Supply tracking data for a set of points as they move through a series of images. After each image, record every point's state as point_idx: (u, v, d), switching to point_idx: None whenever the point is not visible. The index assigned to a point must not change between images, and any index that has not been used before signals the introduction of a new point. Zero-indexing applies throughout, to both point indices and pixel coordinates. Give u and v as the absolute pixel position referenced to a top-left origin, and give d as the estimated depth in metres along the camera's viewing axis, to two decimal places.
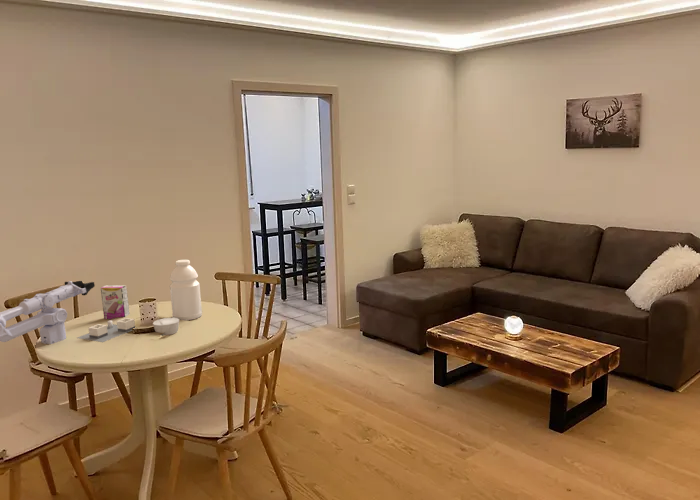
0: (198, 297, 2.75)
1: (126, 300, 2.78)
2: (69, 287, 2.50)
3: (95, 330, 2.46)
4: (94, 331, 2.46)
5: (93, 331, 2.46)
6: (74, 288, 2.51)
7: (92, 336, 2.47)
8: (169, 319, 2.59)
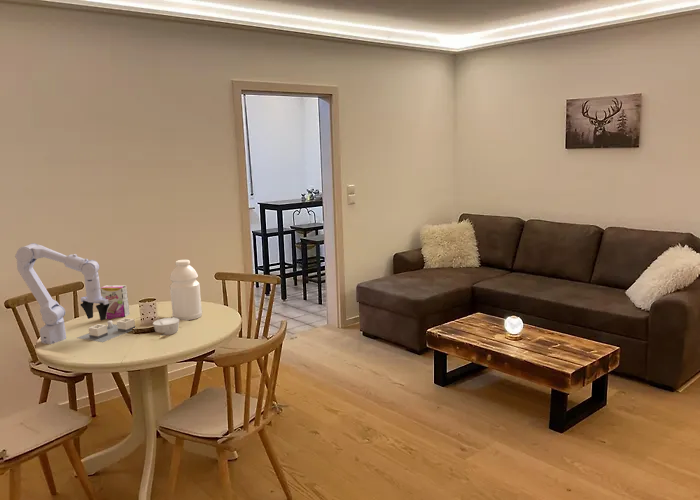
0: (198, 297, 2.75)
1: (126, 300, 2.78)
2: (100, 293, 2.47)
3: (95, 330, 2.46)
4: (94, 331, 2.46)
5: (93, 331, 2.46)
6: (100, 298, 2.46)
7: (92, 336, 2.47)
8: (169, 319, 2.59)
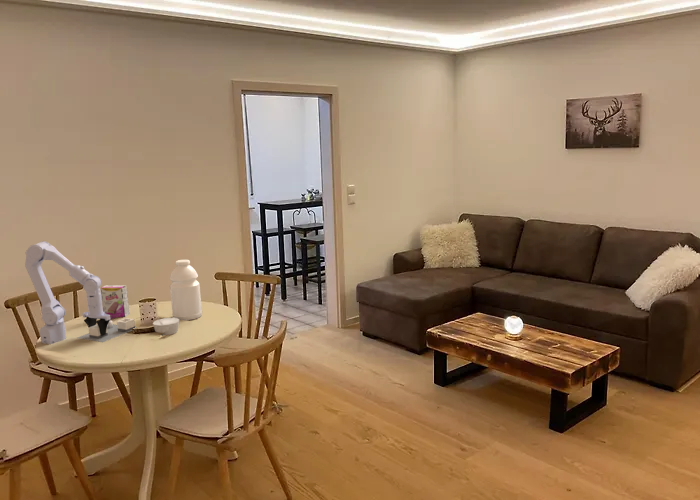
0: (198, 297, 2.75)
1: (126, 300, 2.78)
2: (102, 309, 2.48)
3: (95, 330, 2.46)
4: (94, 331, 2.46)
5: (93, 331, 2.46)
6: (102, 313, 2.47)
7: (92, 336, 2.47)
8: (169, 319, 2.59)
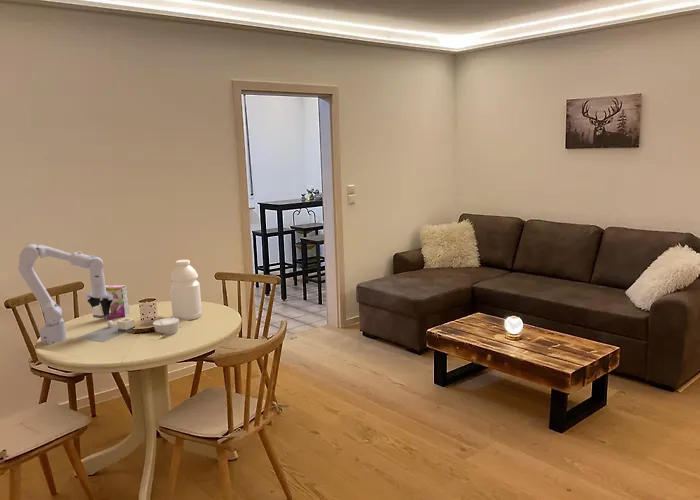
0: (198, 297, 2.75)
1: (126, 300, 2.78)
2: (105, 289, 2.52)
3: (98, 310, 2.49)
4: (98, 311, 2.50)
5: (96, 311, 2.50)
6: (105, 293, 2.51)
7: (95, 316, 2.51)
8: (169, 318, 2.59)
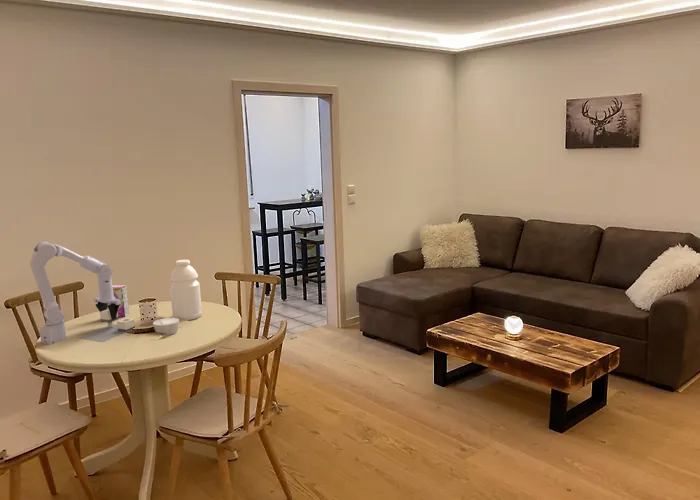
0: (198, 297, 2.75)
1: (126, 300, 2.78)
2: None
3: (106, 314, 2.57)
4: (105, 315, 2.57)
5: (104, 315, 2.58)
6: (113, 298, 2.58)
7: (103, 320, 2.58)
8: (169, 318, 2.59)
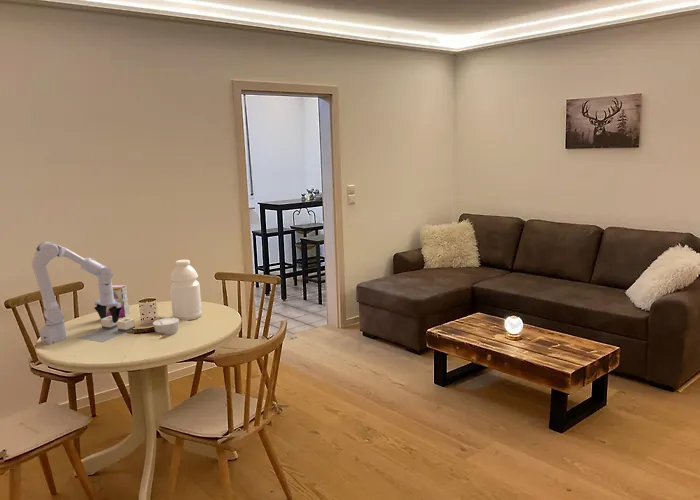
0: (198, 297, 2.75)
1: (126, 300, 2.78)
2: (113, 297, 2.59)
3: (107, 321, 2.57)
4: (106, 322, 2.58)
5: (105, 322, 2.58)
6: (113, 301, 2.59)
7: (104, 327, 2.59)
8: (169, 318, 2.59)
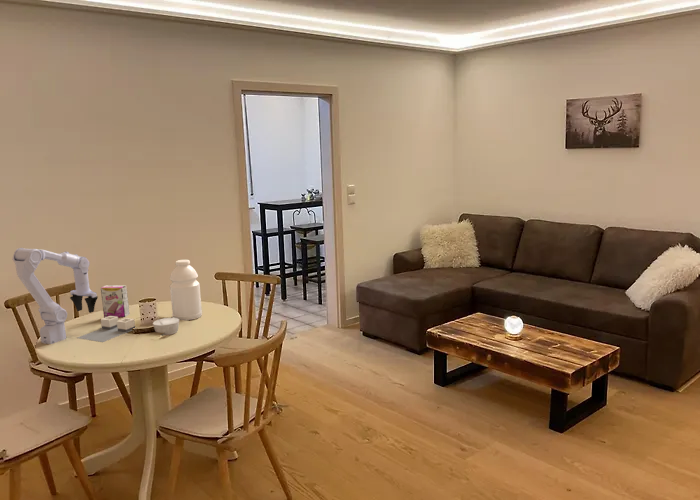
0: (198, 297, 2.75)
1: (126, 300, 2.78)
2: (89, 287, 2.59)
3: (107, 321, 2.57)
4: (106, 322, 2.58)
5: (105, 322, 2.58)
6: (89, 291, 2.58)
7: (104, 327, 2.59)
8: (169, 319, 2.59)
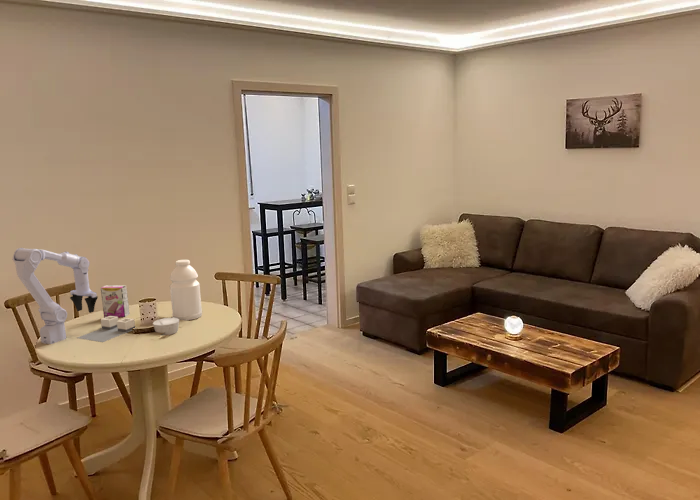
0: (198, 297, 2.75)
1: (126, 300, 2.78)
2: (89, 287, 2.59)
3: (107, 321, 2.57)
4: (106, 322, 2.58)
5: (105, 322, 2.58)
6: (89, 291, 2.58)
7: (104, 327, 2.59)
8: (169, 319, 2.59)
